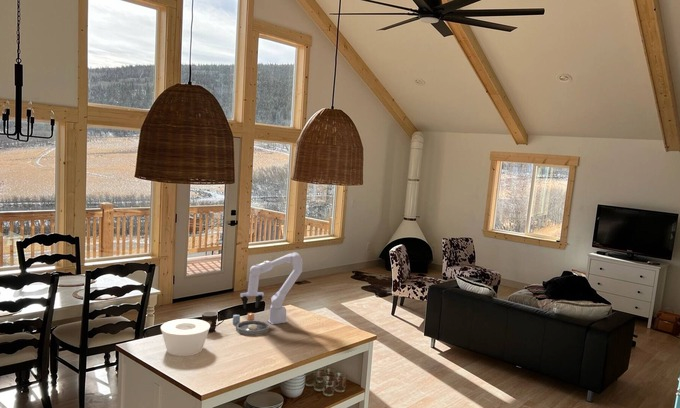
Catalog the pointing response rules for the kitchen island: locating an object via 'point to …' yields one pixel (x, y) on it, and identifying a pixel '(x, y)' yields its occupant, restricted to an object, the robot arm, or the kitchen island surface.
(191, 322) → the bowl
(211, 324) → the coffee mug
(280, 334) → the kitchen island surface
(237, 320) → the slate bead
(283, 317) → the robot arm
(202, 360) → the kitchen island surface
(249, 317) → the terracotta bead
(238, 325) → the groove tray
